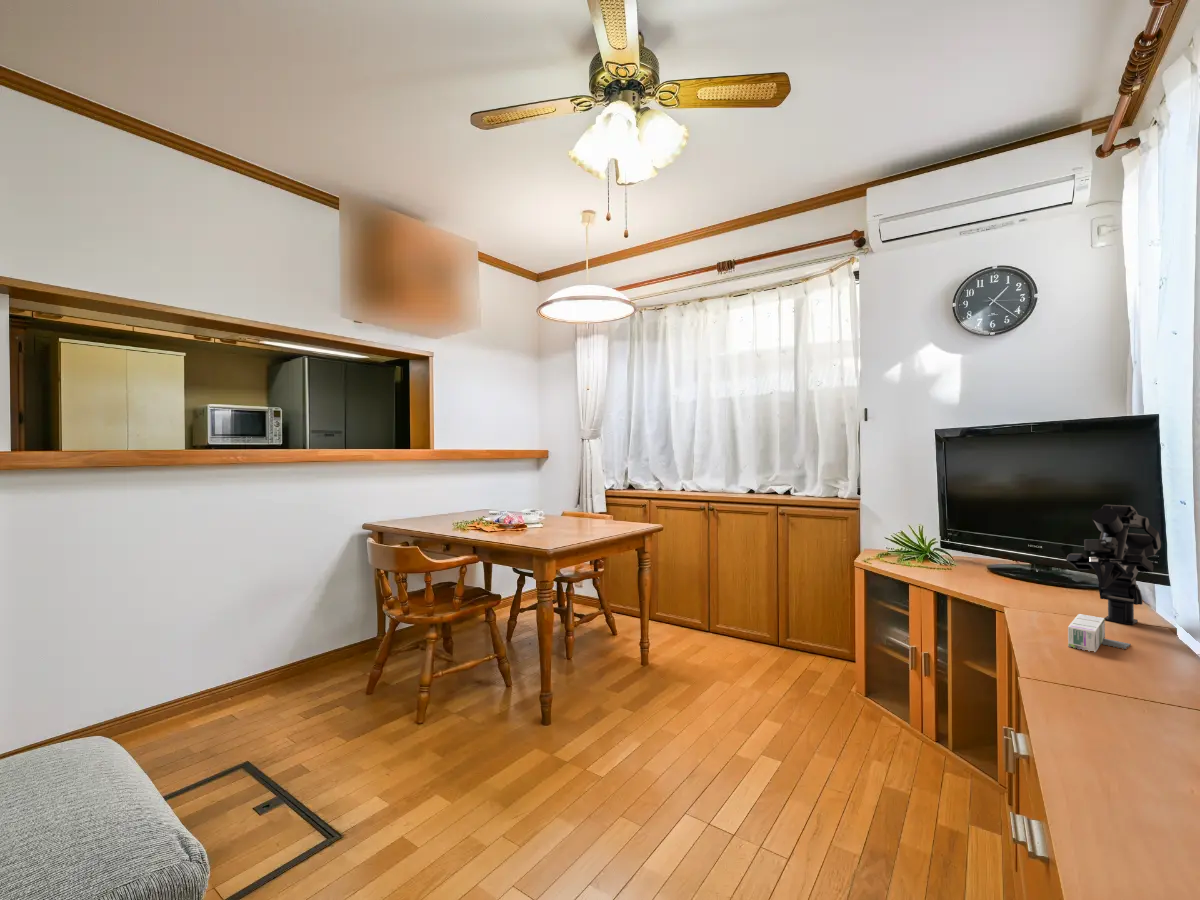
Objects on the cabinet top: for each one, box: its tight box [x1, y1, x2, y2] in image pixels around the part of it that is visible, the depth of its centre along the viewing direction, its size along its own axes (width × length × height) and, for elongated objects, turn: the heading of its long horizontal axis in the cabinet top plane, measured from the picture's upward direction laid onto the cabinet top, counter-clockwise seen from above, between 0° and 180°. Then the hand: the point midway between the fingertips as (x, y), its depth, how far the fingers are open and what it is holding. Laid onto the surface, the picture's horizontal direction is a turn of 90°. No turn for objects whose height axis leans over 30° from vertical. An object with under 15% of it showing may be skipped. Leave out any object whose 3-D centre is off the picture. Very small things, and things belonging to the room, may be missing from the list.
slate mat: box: [1100, 638, 1132, 650], centre depth 148 cm, size 6×9×1 cm, turn 35°
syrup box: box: [1067, 613, 1106, 653], centre depth 147 cm, size 6×6×14 cm
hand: (1102, 587), depth 158 cm, fingers closed
